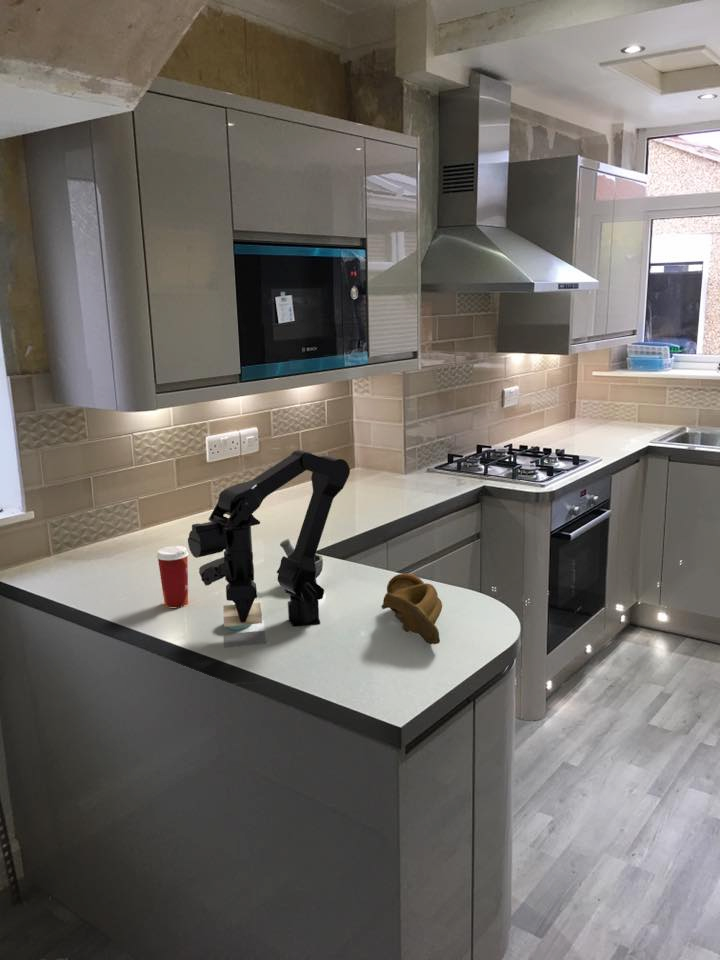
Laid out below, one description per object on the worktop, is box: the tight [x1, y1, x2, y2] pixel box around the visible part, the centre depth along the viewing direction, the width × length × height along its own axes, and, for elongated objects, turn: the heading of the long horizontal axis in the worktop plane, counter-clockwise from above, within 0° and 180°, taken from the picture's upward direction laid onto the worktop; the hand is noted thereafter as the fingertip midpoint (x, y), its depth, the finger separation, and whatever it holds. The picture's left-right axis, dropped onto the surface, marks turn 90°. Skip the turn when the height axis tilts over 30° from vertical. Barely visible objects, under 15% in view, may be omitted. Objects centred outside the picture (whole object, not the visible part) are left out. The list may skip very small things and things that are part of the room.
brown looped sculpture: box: [380, 573, 443, 645], centre depth 174 cm, size 18×13×22 cm
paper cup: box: [155, 545, 190, 608], centre depth 192 cm, size 8×8×14 cm
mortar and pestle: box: [279, 538, 324, 584], centre depth 204 cm, size 11×9×12 cm
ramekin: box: [225, 624, 252, 631], centre depth 179 cm, size 6×6×4 cm
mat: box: [223, 630, 267, 649], centre depth 171 cm, size 9×7×1 cm
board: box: [223, 602, 263, 628], centre depth 170 cm, size 8×6×2 cm
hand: (242, 616), depth 170 cm, fingers closed on board, 6 cm apart
